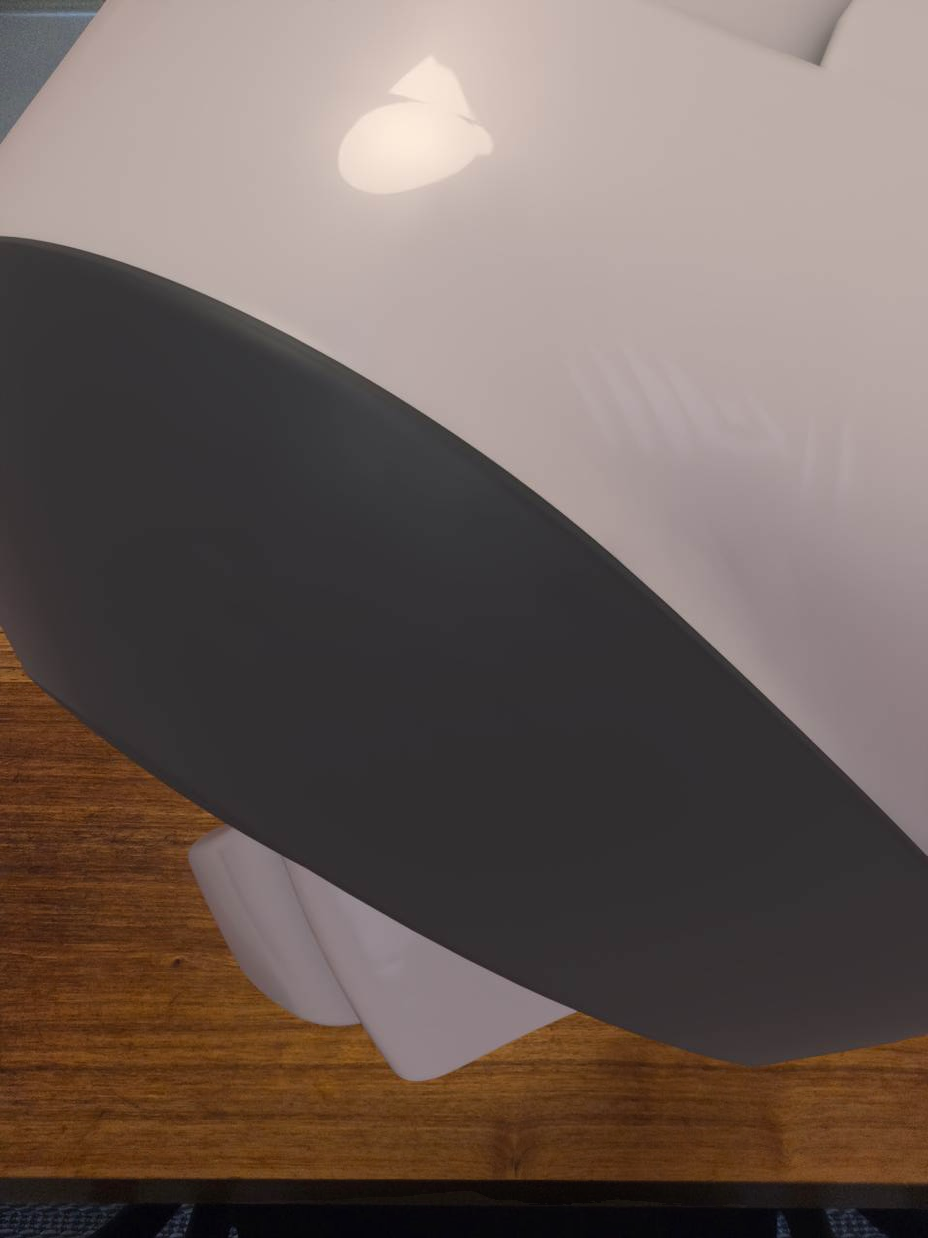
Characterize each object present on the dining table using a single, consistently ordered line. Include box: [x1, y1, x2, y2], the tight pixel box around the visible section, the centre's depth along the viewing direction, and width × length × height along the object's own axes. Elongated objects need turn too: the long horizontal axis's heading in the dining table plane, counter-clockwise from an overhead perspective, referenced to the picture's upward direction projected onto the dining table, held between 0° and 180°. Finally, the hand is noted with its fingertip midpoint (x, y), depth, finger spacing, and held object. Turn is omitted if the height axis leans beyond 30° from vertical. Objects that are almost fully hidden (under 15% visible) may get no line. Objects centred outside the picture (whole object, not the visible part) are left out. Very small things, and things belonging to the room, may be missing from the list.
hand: (450, 741), depth 32 cm, fingers open, 8 cm apart
